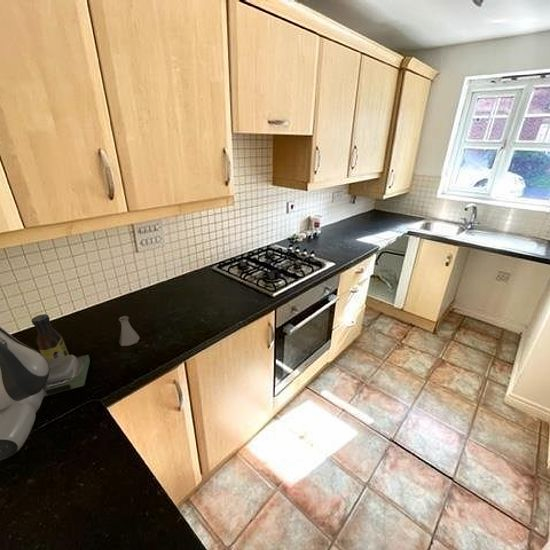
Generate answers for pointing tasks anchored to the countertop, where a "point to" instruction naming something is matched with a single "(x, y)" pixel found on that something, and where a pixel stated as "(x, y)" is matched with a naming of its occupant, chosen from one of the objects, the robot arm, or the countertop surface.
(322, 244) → the countertop surface
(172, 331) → the countertop surface
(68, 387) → the scale
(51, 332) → the sauce bottle
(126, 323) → the flask
